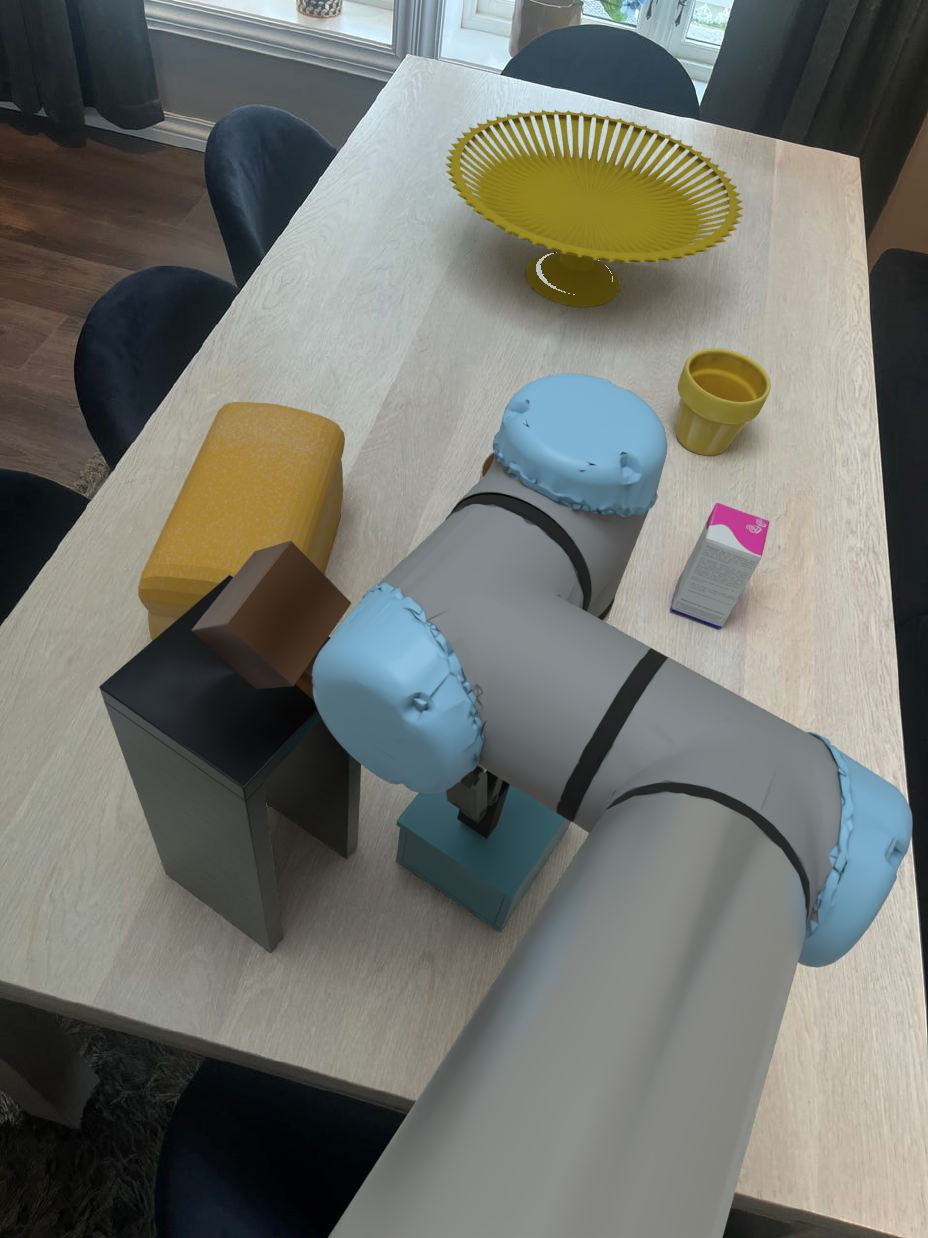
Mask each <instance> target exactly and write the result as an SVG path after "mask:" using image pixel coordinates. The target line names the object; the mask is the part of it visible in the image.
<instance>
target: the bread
mask: <svg viewBox="0 0 928 1238" xmlns="http://www.w3.org/2000/svg"><path fill="white" fill-rule="evenodd" d="M345 442H346V437H345V432H344V430H342V428H341V426H340V425H339V423H337V422H335V421H334V420H332V419H330V418H328V417H327V416H326V417H325V416H323V415H320V414H317V413H314V412H310V411H306V410H302V409H299V408H295V407H292V406H286V405H282V404H278V403H268V402H253V401H251V402H250V401H232V402H228V403H225V404H223V405H222V406H221V407H220V408H219V409H218V411H217V413H216V415H215V417H214V420H212V423H211V425H210V427H209V430H208V432H207V434H206V436H205V438H204V440H203V442H202V444H201V447H200V448H199V451H198V453H197V455H196V457H195V459H194V461H193V463H192V466H191V468H190V470H189V472H188V474H187V476H186V478H185V480H184V482H183V485H182V487H181V488H180V491H179V493H178V496H177V497H176V500H175V502H174V504H173V506H172V508H171V511H170V513H169V515H168V516H167V519H166V521H165V523H164V525H163V528H162V529H161V531H160V534H159V536H158V538H157V540H156V542H155V544H154V546H153V549H152V550H151V553H150V555H149V557H148V559H147V561H146V563H145V566H144V568H143V570H142V573H141V576H140V579H139V583H138V586H137V591H138V593H137V594H138V598H139V600H140V603H141V604H142V606H143V607H144V608H145V609H146V611H148V612H147V621H148V623H147V624H148V630H149V635H150V638H151V642H152V641H153V640H154V639H155V638H156V637H157V636H159V635H160V634H161V633H162V632H163V631H164V630H166V629H167V628H168V627H169V626H170V625H171V624H173V623H174V622H175V621H176V620H177V619H178V618H180V617H181V616H182V615H183V614H184V613H185V612H187V611H188V610H189V609H190V608H191V607H192V606H194V605H195V604H196V603H197V602H198V601H199V600H201V599H202V598H203V597H204V596H205V595H206V594H208V593H209V592H210V591H211V590H212V589H213V588H215V587H216V586H217V585H218V584H219V583H220V582H222V581H223V580H224V579H225V578H226V577H227V576H229V575H231V576H232V577H234V576H235V575H236V574H237V572H238V571H239V570H240V569H241V567H242V566H243V565H244V564H245V562H246V561H247V560H248V559H249V557H250V556H251V555H252V554H253V552H254V551H257V550H261V549H264V548H267V547H271V546H274V545H278V544H281V543H284V542H288V541H292V542H293V543H294V544H295V545H296V546H297V547H298V548H299V549H300V550H301V551H302V552H303V553H304V554H305V555H306V556H307V557H308V558H309V559H310V561H311V562H312V563H313V564H314V565H315V566H316V567H317V568H318V569H319V570H320V571H321V572H322V573H323V574H324V575H325V571H326V569H327V565H328V562H329V559H330V555H331V552H332V549H333V545H334V543H335V539H336V535H337V533H338V529H339V528H338V527H339V525H340V518H341V513H342V506H343V495H344V471H343V462H342V457H343V455H344V451H345Z"/></svg>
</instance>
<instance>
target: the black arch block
mask: <svg viewBox="0 0 928 1238" xmlns="http://www.w3.org/2000/svg"><path fill="white" fill-rule="evenodd" d="M232 579H233V577H232V576H231V575H229V576H227V577H226V578H225V579H224V580H223V581H222V582H220V583H219V584H218V585H217V586H216V587H215V588H213V589H212V590H211V591H210V592H209V593H208V594H206V595H205V596H204V597H203V598H202V599H201V600H199V601H198V602H197V603H196V604H195V605H194V606H192V607H191V608H190V609H189V610H188V611H187V612H185V613H184V614H183V615H182V616H181V617H180V618H178V619H177V620H176V621H175V622H174V623H173V624H171V625H170V626H169V627H168V628H167V629H166V630H164V631H163V632H162V633H161V634H160V635H159V636H157V637H156V638H155V639H154V640H153V641H152V640H151V642H149V643H148V644H147V645H145V646H144V647H143V648H142V649H141V650H140V651H139V652H137V653H136V654H135V655H134V656H133V657H132V658H131V659H129V660H128V661H127V662H126V663H125V664H123V665H122V666H121V667H120V668H118V670H116V671H115V672H114V673H113V674H111V676H109V678H107V679H106V680H105V681H104V682H103V683H101V684H100V685H99V687H98V688H99V691H100V694H101V697H102V700H103V702H104V705H105V708H106V712H107V714H108V717H109V719H110V722H111V725H112V728H113V730H114V734H115V736H116V739H117V741H118V744H119V747H120V750H121V752H122V755H123V758H124V761H125V764H126V767H127V770H128V773H129V775H130V778H131V780H132V783H133V786H134V789H135V792H136V795H137V798H138V800H139V804H140V806H141V809H142V811H143V814H144V817H145V820H146V822H147V825H148V828H149V831H150V834H151V836H152V839H153V842H154V845H155V848H156V850H157V854H158V856H159V858H160V861H161V865H162V867H163V870H164V873H165V875H167V876H168V877H170V878H171V880H173V881H175V882H176V883H177V884H179V885H180V886H181V887H183V888H184V889H185V890H187V892H189V893H191V894H192V895H193V896H194V897H196V898H197V899H198V900H200V901H201V902H202V903H204V904H205V905H206V906H207V907H209V908H211V909H212V910H213V911H214V912H216V913H217V914H218V915H220V916H221V917H222V918H223V919H225V920H226V921H227V922H229V923H230V924H232V926H234V927H235V928H237V929H238V930H239V931H241V932H242V933H243V934H245V935H246V936H247V937H248V938H250V939H251V940H252V941H254V942H255V943H256V944H258V945H259V946H260V947H262V948H263V949H264V950H265V951H267V952H268V953H270V954H272V953H273V952H274V950H275V949H276V948H277V947H278V946H279V944H280V943H281V942H282V941H283V939H284V932H283V924H282V923H283V922H282V917H281V910H280V909H281V908H280V901H279V893H278V885H277V877H276V872H275V870H276V869H275V862H274V853H273V847H272V839H271V832H270V831H271V830H270V823H269V817H268V807H267V805H268V806H270V807H271V808H273V809H274V810H276V811H277V812H279V813H280V814H282V815H283V816H284V817H286V818H287V819H289V820H290V821H291V822H293V823H294V824H296V825H297V826H298V827H300V828H302V829H303V830H305V831H306V832H307V833H309V834H310V835H311V836H313V837H314V838H316V839H317V840H318V841H320V842H322V843H323V844H324V845H326V846H327V847H329V848H330V849H331V850H333V851H334V852H336V853H337V854H338V855H340V856H342V858H344V859H346V860H348V859H349V858H350V856H352V854H353V853H354V852H355V850H356V849H357V848H358V847H359V826H360V807H361V806H360V805H361V804H360V802H361V779H362V765H361V764H360V763H359V762H358V761H357V760H356V759H354V758H353V757H352V756H351V755H350V754H349V753H348V752H347V751H346V750H345V749H344V748H343V747H342V746H341V745H340V744H339V742H338V741H337V740H336V739H335V737H334V736H333V735H332V733H331V732H330V731H329V729H328V728H327V726H326V724H325V723H324V721H323V719H322V717H321V715H320V713H319V711H318V709H317V706H316V704H315V702H314V701H313V700H312V699H311V698H310V697H309V696H308V695H307V694H306V693H305V692H304V691H303V690H301V689H300V688H299V687H298V686H297V685H296V684H295V685H294V686H290V687H277V688H263V689H256V688H255V687H254V686H252V685H251V684H250V683H249V682H248V681H247V680H246V679H245V678H244V677H242V676H241V675H240V674H239V673H238V672H237V671H236V670H235V669H234V668H232V667H231V666H230V665H229V664H228V663H227V662H226V661H225V660H224V659H222V658H221V657H220V656H219V655H218V654H217V653H216V652H215V651H214V650H212V649H211V648H210V647H209V646H208V645H207V644H206V643H205V642H204V641H202V640H201V639H200V638H199V637H198V636H197V635H196V634H195V633H194V632H193V631H192V629H193V627H194V626H195V625H196V624H197V622H198V621H199V620H200V619H201V617H202V616H203V615H204V614H205V612H206V611H207V610H208V609H209V607H210V606H211V605H212V604H213V602H214V601H215V600H216V599H217V597H218V596H219V595H220V594H221V592H222V591H223V590H224V589H225V587H226V586H227V585H228V584H229V582H230V581H231V580H232ZM330 638H331V637H330V635H329V636H328V639H330Z"/></svg>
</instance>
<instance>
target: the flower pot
mask: <svg viewBox="0 0 928 1238" xmlns="http://www.w3.org/2000/svg"><path fill="white" fill-rule="evenodd" d="M680 373H681V374H680V376H679V380H678V384H677V392H678V395H679V405H678V413H677V419H676V426H675V427H676V428H675V435H676V439H677V440H678V442H679V444H681V445H682V446H683V447H684V448H685V449H686V450H689V452H692V453H695V454H697V455H701V456H716V455H719V454H722V453H723V452H725V451H726V450H727V448H728V447H729V446H730V445H731V444H732V442H733V440H734V439H735V438H736V437H737V435H738V434H739V433H740V431H742V430H743V428H744V427H745V425H746V424H747V423H749V422H751V421H753V420H754V419H755V418H757V416H758V415H759V414H760V412H761V410H762V409H763V407H764V405H765V404H766V401H767V399H768V397H769V395H770V392H771V386H772V385H771V380H770V377H769V375H768V373H767V372H766V370H765V369H764V368H763V367H762V366H761V365H760V364H759V363H757V362H756V361H755V360H754V359H752V358H750V357H748V356H747V355H744V354H742V353H740V352H736V351H734V350H730V349H726V348H715V347H714V348H712V347H709V348H704V349H699V350H698V351H695V352H694V353H692V354H690V355H689V357H688V358H687V359H686V361H685V363H684V365H683V368H682V371H681V372H680Z"/></svg>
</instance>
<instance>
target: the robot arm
mask: <svg viewBox="0 0 928 1238" xmlns="http://www.w3.org/2000/svg"><path fill="white" fill-rule="evenodd" d="M498 429H499V430H498V431H497V432H496V433H495V434H494V438H493V441H492V451H493V452H494V453H495V454H494V459H493V462H492V464H491V466H490V468H489V470H488V472H487V473H486V474H485V476H484V477H483V478H482V479H481V480H480V481H479V480H478V482H476V484H475V485H474V486H473V487H471V489H469V491H467V493H465V494H464V496H463V497H462V498H461V499H460V500H459V501H458V502H457V503H456V504H455V506H454V507H453V508H452V510H451V511H450V513H449V514H448V515H447V516H446V518H445V520H444V521H443V522H442V523H440V525H439V526H437V528H436V529H434V530H433V531H432V532H431V533H430V534H429V535H428V536H427V537H426V538H425V539H424V540H422V542H421V543H420V544H418V545H417V547H415V548H414V549H413V550H412V551H411V552H410V553H408V555H407V556H406V557H404V559H402V561H400V562H399V563H398V564H397V565H396V566H395V567H394V568H393V569H392V570H390V571H389V573H388V574H386V575H385V576H384V577H383V578H382V579H381V580H380V581H379V582H377V584H374V585H372V586H371V587H370V588H369V590H368V591H366V592H365V594H364V595H363V596H362V598H361V600H360V602H359V603H358V604H357V605H356V606H355V607H354V608H353V609H352V611H351V612H350V613H349V614H348V615H347V616H346V617H345V618H344V619H343V621H342V622H341V623H340V624H339V626H337V628H335V630H333V633H332V636H331V637H330V639H329V641H328V642H327V643H326V644H325V646H324V647H323V648H322V649H321V651H320V652H319V654H318V656H317V658H316V660H315V662H314V665H313V671H312V677H313V679H312V683H313V696H314V700H315V704H316V706H317V709H318V711H319V713H320V715H321V717H322V719H323V721H324V723H325V724H326V726H327V728H328V729H329V731H330V732H331V733H332V735H333V736H334V737H335V739H336V740H337V741H338V742H339V744H340V745H341V746H342V747H343V748H344V749H345V750H346V751H347V752H348V753H349V754H350V755H351V756H352V757H353V758H354V759H356V760H357V761H358V762H359V763H360V764H361V766H362V767H364V768H365V769H366V770H367V771H369V772H370V773H372V774H373V775H375V776H376V777H378V778H379V779H381V780H383V781H385V782H387V783H389V784H392V785H396V786H397V785H401V784H402V783H403V784H402V785H403V786H405V788H407V787H408V789H409V790H410V791H411V792H415V793H428V794H433V793H439V792H443V791H445V790H446V794H447V801H448V802H450V803H451V804H453V805H454V806H456V807H457V808H459V813H458V817H457V819H458V820H459V821H461V822H462V823H464V824H465V825H467V826H468V827H470V828H471V829H473V830H474V831H476V832H477V833H479V834H480V835H482V836H483V837H485V838H486V839H487V838H488V837H489V835H490V834H491V833H492V831H493V830H494V829H495V827H496V826H497V824H498V821H499V818H500V815H501V812H502V808H503V805H504V802H505V799H506V796H507V793H508V790H509V786H510V785H512V786H513V787H515V788H517V789H518V790H520V791H521V792H523V793H525V794H526V795H528V796H529V797H531V798H533V799H534V800H536V801H537V802H539V803H541V804H542V805H544V806H545V807H547V808H549V809H550V810H552V811H554V812H555V813H557V814H559V815H561V816H562V817H564V818H565V819H567V820H569V821H570V822H571V823H573V824H574V825H576V826H577V827H578V828H579V827H580V828H581V829H582V830H583V831H585V832H587V833H588V834H587V836H586V838H585V839H584V841H583V843H582V844H581V845H580V847H579V848H578V850H577V851H576V854H575V855H574V856H573V858H572V859H571V861H570V863H569V864H568V866H567V867H566V869H565V870H564V872H563V873H562V875H561V877H560V878H559V879H558V881H557V883H556V884H555V886H553V887H554V888H553V889H552V890H551V891H550V894H549V895H548V896H547V898H546V900H545V901H544V902H543V904H542V906H541V907H540V909H539V911H538V912H537V914H536V915H535V917H534V918H533V919H532V922H531V923H530V924H529V926H528V928H527V929H526V931H525V932H524V934H523V935H522V937H521V939H519V942H517V944H516V946H515V948H514V949H513V950H512V952H511V954H510V956H509V957H508V959H507V960H506V962H505V963H504V965H503V966H502V968H501V969H500V971H499V973H498V974H497V976H495V979H494V980H493V981H492V983H491V984H490V986H489V988H488V989H487V991H486V993H485V994H484V996H483V997H482V999H481V1000H480V1002H479V1003H478V1005H477V1006H476V1008H475V1009H474V1011H473V1013H472V1014H471V1015H470V1017H469V1019H468V1020H467V1022H466V1023H465V1025H464V1027H463V1028H462V1029H461V1031H460V1032H459V1034H458V1035H457V1037H456V1039H455V1041H453V1043H452V1045H451V1046H450V1048H449V1050H448V1051H447V1053H446V1055H445V1056H444V1057H443V1058H442V1061H441V1062H440V1063H439V1065H438V1067H437V1068H436V1070H435V1072H434V1073H433V1075H432V1076H431V1077H430V1079H429V1081H428V1082H427V1084H426V1086H425V1087H424V1089H423V1090H422V1092H421V1093H420V1095H419V1096H418V1098H417V1099H416V1101H415V1103H414V1104H413V1105H412V1107H411V1108H410V1110H409V1112H408V1113H407V1114H406V1116H405V1118H404V1120H403V1121H402V1122H401V1124H400V1126H399V1127H398V1128H397V1130H396V1132H395V1133H394V1135H393V1136H392V1137H391V1140H390V1141H389V1142H388V1143H387V1145H386V1147H385V1149H384V1151H383V1152H382V1153H381V1155H380V1157H379V1158H378V1159H377V1161H376V1163H375V1164H374V1166H373V1167H372V1168H371V1171H370V1172H369V1173H368V1175H367V1177H366V1178H365V1179H364V1181H363V1183H362V1184H361V1185H360V1187H359V1189H358V1190H357V1192H356V1194H354V1196H353V1198H352V1199H351V1201H350V1202H349V1204H348V1206H347V1207H346V1209H345V1211H344V1212H343V1214H342V1215H341V1217H340V1218H339V1219H338V1221H337V1223H336V1224H335V1226H334V1227H333V1229H332V1230H331V1232H330V1234H329V1236H328V1237H327V1238H724V1237H723V1236H724V1233H725V1229H726V1227H727V1223H728V1219H729V1216H730V1215H729V1214H730V1212H731V1207H732V1204H733V1201H734V1197H735V1193H736V1190H737V1186H738V1182H739V1180H740V1179H739V1178H740V1175H741V1172H742V1168H743V1164H744V1160H745V1158H746V1157H745V1156H746V1153H747V1149H748V1146H749V1142H750V1139H751V1135H752V1132H753V1128H754V1124H755V1120H756V1117H757V1113H758V1109H759V1105H760V1102H761V1098H762V1096H763V1091H764V1087H765V1084H766V1081H767V1076H768V1073H769V1070H770V1065H771V1062H772V1058H773V1055H774V1051H775V1047H776V1044H777V1040H778V1037H779V1033H780V1029H781V1027H782V1026H781V1025H782V1023H783V1022H782V1021H783V1019H784V1015H785V1011H786V1007H787V1005H788V1004H787V1003H788V1000H789V997H790V992H791V989H792V985H793V982H794V978H795V974H796V972H797V968H798V963H799V964H800V965H802V966H805V967H808V968H817V969H818V968H823V967H827V966H830V965H832V964H835V963H836V962H838V961H839V960H841V958H843V957H844V956H846V955H847V954H848V953H849V952H850V951H851V950H852V949H854V947H855V946H856V944H857V943H859V941H860V940H861V938H862V937H863V936H864V935H865V934H866V932H867V931H868V929H870V927H871V925H872V924H873V922H874V921H875V919H876V918H877V916H878V914H879V913H880V911H881V909H882V907H883V906H884V905H885V902H886V901H887V899H888V897H889V896H890V893H891V892H892V889H893V888H894V885H895V883H896V881H897V878H898V875H897V874H898V870H899V868H900V866H901V864H902V861H903V859H904V858H905V857H906V855H907V853H908V851H909V848H910V844H911V841H912V835H913V825H914V823H913V813H912V809H911V807H910V805H909V802H908V799H907V798H906V797H905V795H904V794H903V792H902V791H900V790H899V788H898V787H897V786H895V784H893V783H891V782H889V780H886V779H885V778H884V777H882V776H880V775H879V774H877V773H875V772H874V771H872V770H871V769H869V768H868V767H867V766H864V765H863V764H861V762H858V761H857V760H855V759H853V758H852V757H850V756H849V755H848V754H846V753H844V752H842V751H841V750H840V749H839V748H838V747H837V746H835V745H833V744H832V742H831V740H830V739H828V738H827V737H825V736H822V735H820V734H818V733H815V732H812V731H805V730H803V729H801V728H799V727H798V726H795V725H794V724H793V723H791V722H788V721H787V720H785V719H783V718H781V717H780V716H777V715H775V714H774V713H772V712H770V711H769V710H766V709H764V708H763V707H761V706H759V705H757V704H755V703H754V702H752V701H750V700H748V699H747V698H745V697H743V696H741V695H739V694H737V693H735V692H734V691H732V690H730V689H728V688H727V687H724V686H722V685H721V684H719V683H717V682H715V681H713V680H711V679H709V678H708V677H706V676H704V675H702V674H700V673H699V672H697V671H695V670H693V669H691V668H689V667H687V666H685V665H683V664H682V663H680V662H679V661H677V660H675V659H673V658H671V657H669V656H667V655H665V654H663V653H661V652H660V651H658V650H656V649H654V648H652V647H651V646H649V645H647V644H646V643H644V642H642V641H640V640H638V639H636V638H634V637H633V636H631V635H629V634H628V633H626V632H623V631H622V630H620V629H618V628H617V627H616V626H613V625H611V624H610V623H608V621H609V618H610V615H611V612H612V609H613V606H614V603H615V599H616V596H617V593H618V590H619V587H620V585H621V582H622V580H623V577H624V574H625V572H626V570H627V568H628V567H627V566H628V564H629V563H630V562H629V561H630V559H631V556H632V554H633V551H634V548H635V547H636V545H637V541H638V539H639V537H640V534H641V531H642V529H643V526H644V523H645V521H646V519H647V516H648V514H649V511H650V510H651V509H652V508H653V507H654V506H655V505H656V502H657V500H658V498H659V495H658V493H657V491H658V489H659V486H660V481H661V477H662V473H663V469H664V466H665V462H666V459H667V454H668V439H667V432H666V429H665V426H664V424H663V422H662V421H661V418H660V417H659V415H658V414H657V413H656V411H655V410H654V408H653V407H652V406H651V405H649V403H648V402H647V401H645V399H643V398H642V397H641V396H639V395H638V394H637V393H635V392H633V391H632V390H630V389H628V388H624V387H622V386H618V385H616V384H615V383H613V382H612V381H611V380H608V379H605V378H602V377H598V376H595V375H588V374H580V373H559V374H552V375H546V376H543V377H540V378H536V379H534V380H531V382H530V381H529V382H528V383H526V384H525V385H523V386H521V388H520V389H518V390H517V391H516V392H515V393H514V394H513V395H512V397H511V398H510V399H509V401H508V403H507V405H506V407H505V408H504V411H503V415H502V419H501V422H500V426H499V428H498Z"/></svg>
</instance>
